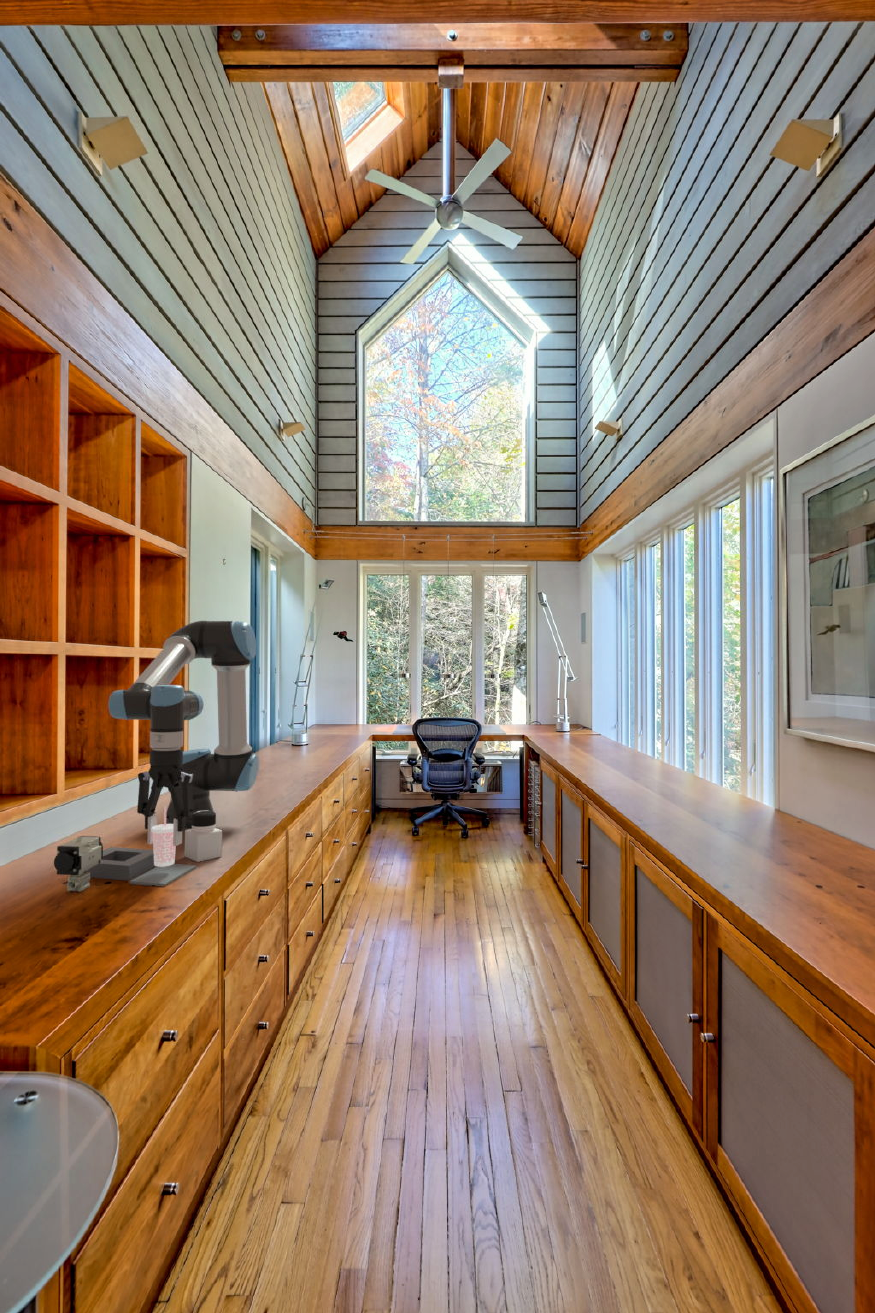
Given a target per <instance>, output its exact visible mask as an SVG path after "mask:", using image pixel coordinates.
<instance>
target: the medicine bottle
mask: <svg viewBox="0 0 875 1313" xmlns="http://www.w3.org/2000/svg"><path fill="white" fill-rule="evenodd" d="M216 826H217V813H216V812H215V811H214V812H213V811H208V810H204V811H198V812H195V813H194V814H193V815H192V828H188V829H185V830H184V857H186V858H188V859H190V860H192V861H194V862H196V863H199V862H200V861H201V862H204V860H205V861H208V860H215V859H218V858H221V857H223V830H222V829H219V828H216ZM201 862H200V863H201Z"/></svg>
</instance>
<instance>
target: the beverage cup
mask: <svg viewBox="0 0 875 1313" xmlns="http://www.w3.org/2000/svg"><path fill="white" fill-rule="evenodd" d="M163 808H164V810H163V812H164V813H163V823H161V824H160V823H159V824H157V825H155V826H153V827H152V828H151V829H152V832H153V843H152V847H153V848H152V850H153V853H154V865H155V867H157V866H158V867H164V866H170V865H173V864H176V862H175V861H176V850H177V848H176V847H177V846H173V824H166V812H167V805H164V806H163Z"/></svg>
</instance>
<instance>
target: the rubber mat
mask: <svg viewBox="0 0 875 1313" xmlns="http://www.w3.org/2000/svg"><path fill="white" fill-rule="evenodd" d="M193 869H194V870H195V869H197V865H193V864H178V863H174V864H173V865H170V866H164V867H158V866H155V867H154V868H152V869H150V870H148V871H146V872H144V873H142V874H140V875H138V876H137V877H135V878H133V879H131V880H129V885H139V886H140V885H141V886H152V885H155V886H154V887H166V885H167V884H168V885H171V882H172V883H174V882H175V881H176V879H177V878H179V879H180V878H182V877H184V876H185V875H187V874H188V873H187V872H189V873H190V872H192V871H193ZM186 873H187V874H186ZM184 874H185V875H184ZM183 875H184V876H183ZM181 876H182V877H181ZM174 880H175V881H174ZM177 880H178V879H177ZM173 881H174V882H173ZM168 885H167V886H168Z"/></svg>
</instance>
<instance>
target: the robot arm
mask: <svg viewBox="0 0 875 1313" xmlns="http://www.w3.org/2000/svg"><path fill="white" fill-rule="evenodd" d="M256 656H257V640H256V636H255V632H254V629H253V627H252V626H251V624H249V623H248V622H246V621H238V620H237V621H236V620H216V621H215V620H212V621H211V620H198V621H194V622H190V623H188V624H186V625H184V626H182V627H181V628H179V629H177V630H175V631H174V632H173V633H172V634H170V635H169V636H168V638H166V640H165V641H164V643H163V646H162V650H160V652H159V653H158V654H157V656H156V657H155V658H154V659H153V660H152V661H151V662H150V664H149V665H148V666H147V667H146V668H145V669H144V671H143V672H141V674H140V675H139V676H138V678H136V680H135V681H134V683H132V685H131V686H130V687H129V688H128V689H120V690H118V689H117V690H114V691H112V692H111V694H110V695H109V699H108V710H109V714H110V716H111V717H112V718H114V719H119V720H126V721H130V720H131V721H132V720H135V721H137V720H142V721H143V720H146V721H147V720H150V728H149V748H151V750H149V765H150V767H149V769H148V771H142V772H139V773H137V777H138V783H139V784H138V795H137V796H138V797H137V798H138V799H137V808H136V809H137V810H136V812H137V813H138V814H139V815H140V814H141V815H143V816H144V829H145V830H147V839H146V840H147V845H153V832H152V829H151V828H152V827H153V826H155V825H158V814H157V812H156V808H157V805H158V801H159V799H160V796H161V791H162V790H163V789H164V788H167V789H168V792H169V793H170V802H169V804H168V807H167V808H166V824H173V846H176V847H177V846H179V845H180V844H183V831H184V832H185V831H186V829H193V828H192V815H193V814H194V813H195V812H198V811H204V810H208V811H213V812H215V811H214V808H213V805H212V801H211V797H210V796H211V795H210V792H211V791H213V792H214V791H215V792H236V793H237V792H247V791H250V790H251V789H252V788H253V787H254V784H255V783H256V779H257V776H258V773H259V763H260V760H259V756H258V755H257V754H255V753H253V748H252V746H251V745H250V744H249V743H248V729H247V727H248V726H247V725H248V723H247V691H246V690H247V689H246V688H247V685H246V684H247V683H246V682H247V681H246V678H247V677H246V670H247V668H248V667H249V666H250V665H251V661H252V660H253V659H254V658H255V657H256ZM195 659H210V660H211V661H210V662H211V666H212V667H213V668H214V669H215V670H216V686H217V687H216V688H217V689H216V690H217V721H218V727H217V728H218V745H217V746H216V747H215V749H213V753H212V751H211V749H210V748H197V749H190V750H185V751H184V750H183V749H182V747H184V721H190V720H193V719H194V718H197V717H199V715H201V714H202V712H203V710H204V700H203V698H202V696H201V695H200V694H199V693H198V692H196V691H194V690H185V689H184V687H183V685H179V684H172V682H173V681H174V680H175V678H176V677H177V676H178V674H179V673H180V671H181V670H182V669H183V668H184V667H185V665H188V664H190V663H192V662H193V661H194V660H195ZM150 779H151V780H152V784H151V786H150V782H151V781H150ZM150 789H151V790H150ZM149 793H150V794H149Z"/></svg>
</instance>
